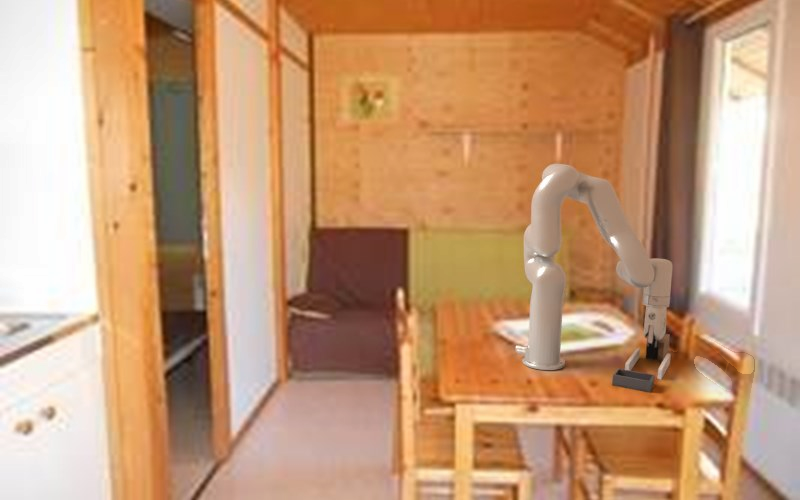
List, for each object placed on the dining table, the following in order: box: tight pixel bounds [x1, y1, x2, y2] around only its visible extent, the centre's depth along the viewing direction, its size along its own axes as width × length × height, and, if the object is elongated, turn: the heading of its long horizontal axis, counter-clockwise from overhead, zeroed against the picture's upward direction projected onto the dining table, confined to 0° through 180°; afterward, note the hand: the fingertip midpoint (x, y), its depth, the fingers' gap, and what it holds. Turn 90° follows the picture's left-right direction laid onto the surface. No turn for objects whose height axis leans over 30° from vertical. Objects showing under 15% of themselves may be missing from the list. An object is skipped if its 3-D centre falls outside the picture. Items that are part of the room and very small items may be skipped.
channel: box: [624, 347, 672, 381], centre depth 195 cm, size 10×16×3 cm, turn 150°
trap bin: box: [611, 368, 656, 393], centre depth 182 cm, size 10×6×3 cm, turn 60°
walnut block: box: [645, 333, 671, 363], centre depth 206 cm, size 5×10×6 cm, turn 149°
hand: (651, 358), depth 200 cm, fingers closed
